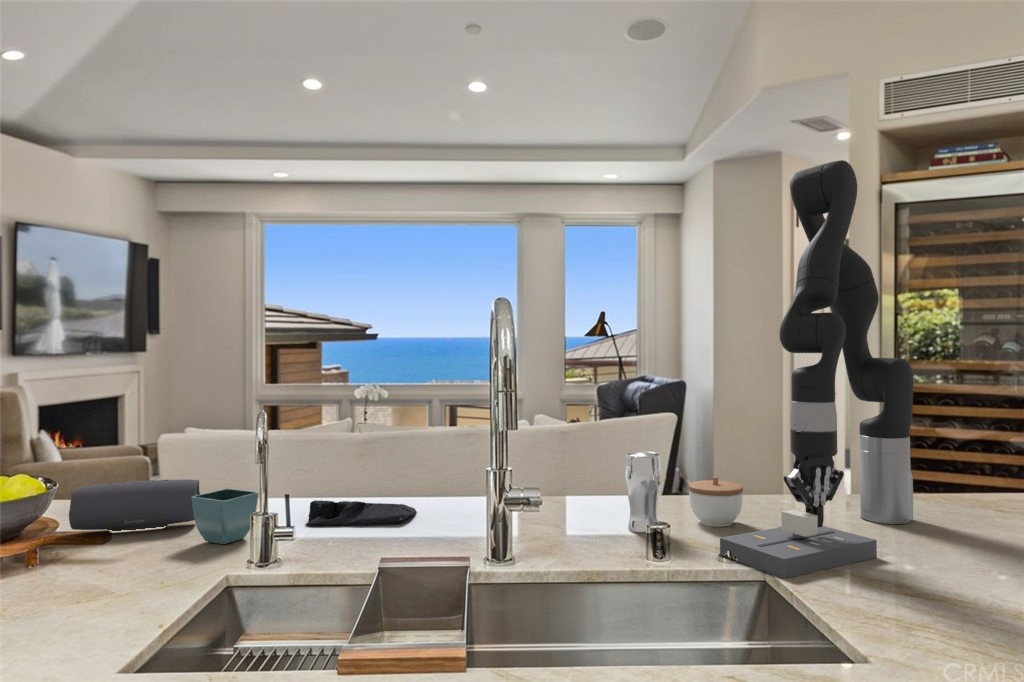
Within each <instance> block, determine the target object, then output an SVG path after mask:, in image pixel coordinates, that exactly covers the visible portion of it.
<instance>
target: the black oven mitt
mask: <svg viewBox="0 0 1024 682" xmlns="http://www.w3.org/2000/svg"><path fill="white" fill-rule="evenodd" d="M308 513H309V514H308V521H307V523H306V524H305V525H306V526H307V527H349V526H350V527H351V526H385V525H397V524H398V523H402V522H403V521H406V519H408V518H410V517H413V516H414V515H416V514H417V513H418V512H417V510H416V508H414V507H412V506H409V505H407V504H403V503H386V502H385V503H382V502H379V503H377V502H376V503H374V502H364V501H356V500H355V501H349V500H347V501H346V500H343V501H341V500H340V501H337V502H336V501H332V500H312V501H311V502H309V512H308Z"/></svg>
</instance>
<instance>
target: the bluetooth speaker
mask: <svg viewBox="0 0 1024 682" xmlns="http://www.w3.org/2000/svg"><path fill="white" fill-rule="evenodd" d="M196 495H201V491H200V480H199V479H157V480H155V479H153V480H152V479H151V480H133V481H122V482H112V483H111V482H110V483H103V484H93V485H92V484H91V485H85V486H84V485H83V486H80V487H79V486H78V487H75V488H73V490H71V494H70V504H69V511H68V521H69V526H70V528H71V529H72V530H74V531H75V530H76V531H95V530H96V531H97V530H99V531H102V530H107V531H108V530H112V531H121V530H136V529H145V528H156V527H164V526H167V527H168V525H175V524H180V523H181V524H182V523H188V522H193V521H194V522H195V519H194V513H193V506H192V499H191V497H193V496H196Z"/></svg>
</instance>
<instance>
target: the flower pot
mask: <svg viewBox="0 0 1024 682" xmlns="http://www.w3.org/2000/svg"><path fill="white" fill-rule="evenodd" d="M191 499H192V506H193V513H194V519H195V520H194V523H195V526H196V528H197V531H198V533H199V534H200V536H201V537H202V539H203V540H204V541H205V542H206V541H208V542H207V543H211V542H213V543H214V544H217V543H219V544H218V545H223V544H226V545H228V544H227V543H229V544H231V543H230V542H232V543H234V542H236V541H235V540H238V539H241V538H244V537H245V538H246V537H247V534H248V533H249V532H250V530H251V528H250V514H251V513H253V512H256V513H257V505H258V499H259V492H258V491H251V490H243V489H233V488H224V489H219V490H215V491H211V492H205V493H200V495H196V496H193V497H191ZM245 538H244V539H245ZM241 540H242V539H241ZM233 541H234V542H233ZM238 541H239V540H238Z"/></svg>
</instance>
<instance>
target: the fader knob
mask: <svg viewBox="0 0 1024 682" xmlns="http://www.w3.org/2000/svg"><path fill="white" fill-rule="evenodd" d="M781 527H782V530H784V531H787V532H791V533H793V537H795V538H803V537H806V536H811V535H817V534H818V518H817V515H814V514H810V513H806V511H801V510H797V509H788V510H784V511H783V510H781Z"/></svg>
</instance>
